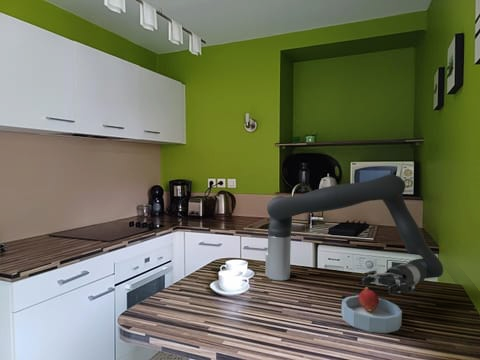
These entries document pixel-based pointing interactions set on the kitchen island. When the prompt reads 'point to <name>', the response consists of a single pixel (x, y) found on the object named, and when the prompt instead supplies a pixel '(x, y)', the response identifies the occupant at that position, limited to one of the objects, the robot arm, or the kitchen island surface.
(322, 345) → the kitchen island surface
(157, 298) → the kitchen island surface
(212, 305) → the kitchen island surface
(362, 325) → the faceted shallow dish
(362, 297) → the onion
